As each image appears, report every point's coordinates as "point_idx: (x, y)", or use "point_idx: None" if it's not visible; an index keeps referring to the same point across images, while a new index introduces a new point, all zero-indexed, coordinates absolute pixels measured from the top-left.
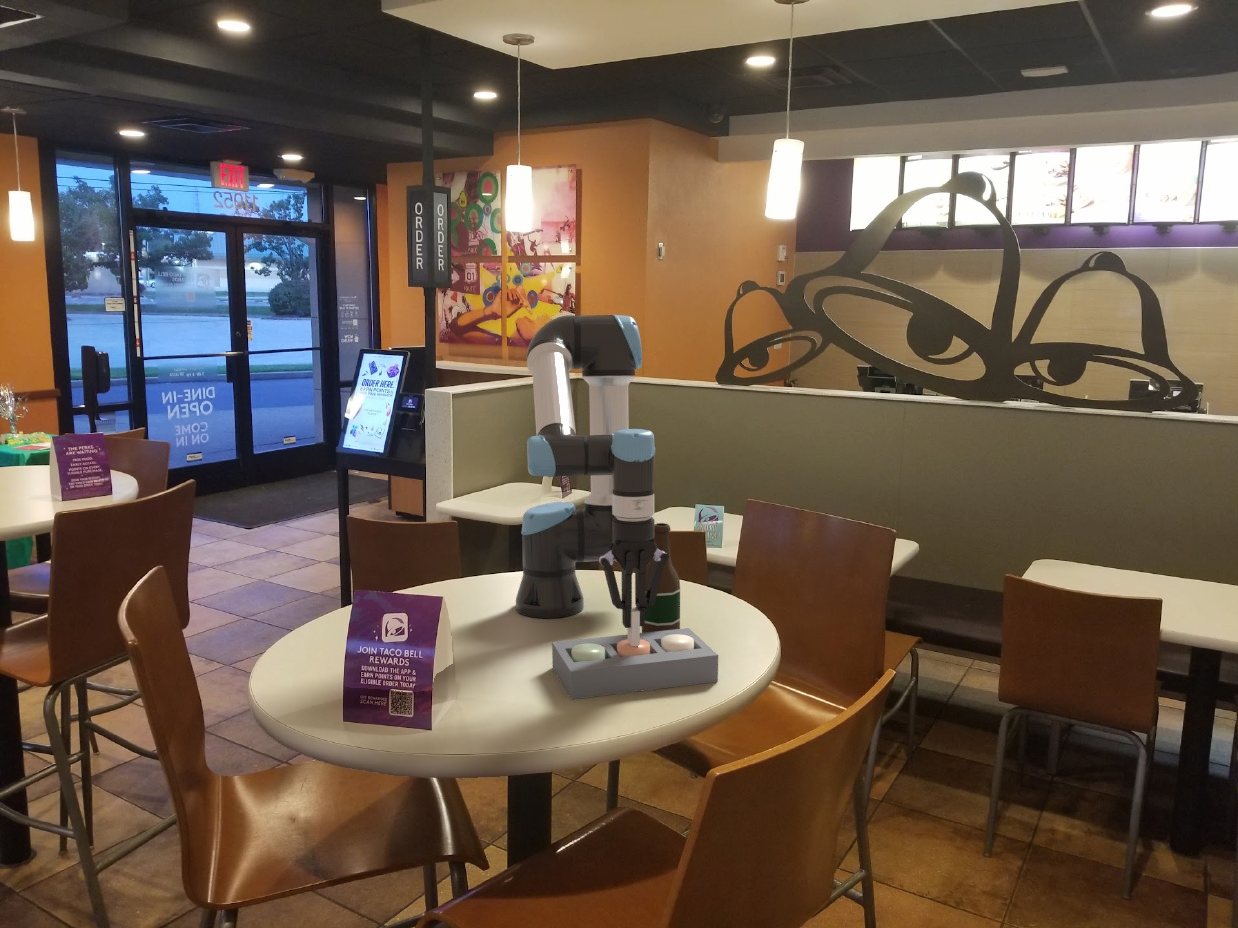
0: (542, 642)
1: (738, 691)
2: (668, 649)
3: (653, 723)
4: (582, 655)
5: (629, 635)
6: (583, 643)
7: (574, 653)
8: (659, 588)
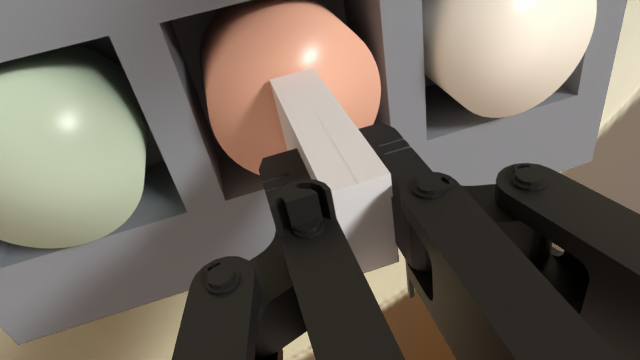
0: None
1: None
2: (448, 93)
3: (295, 344)
4: (31, 245)
5: (287, 133)
6: None
7: None
8: None
